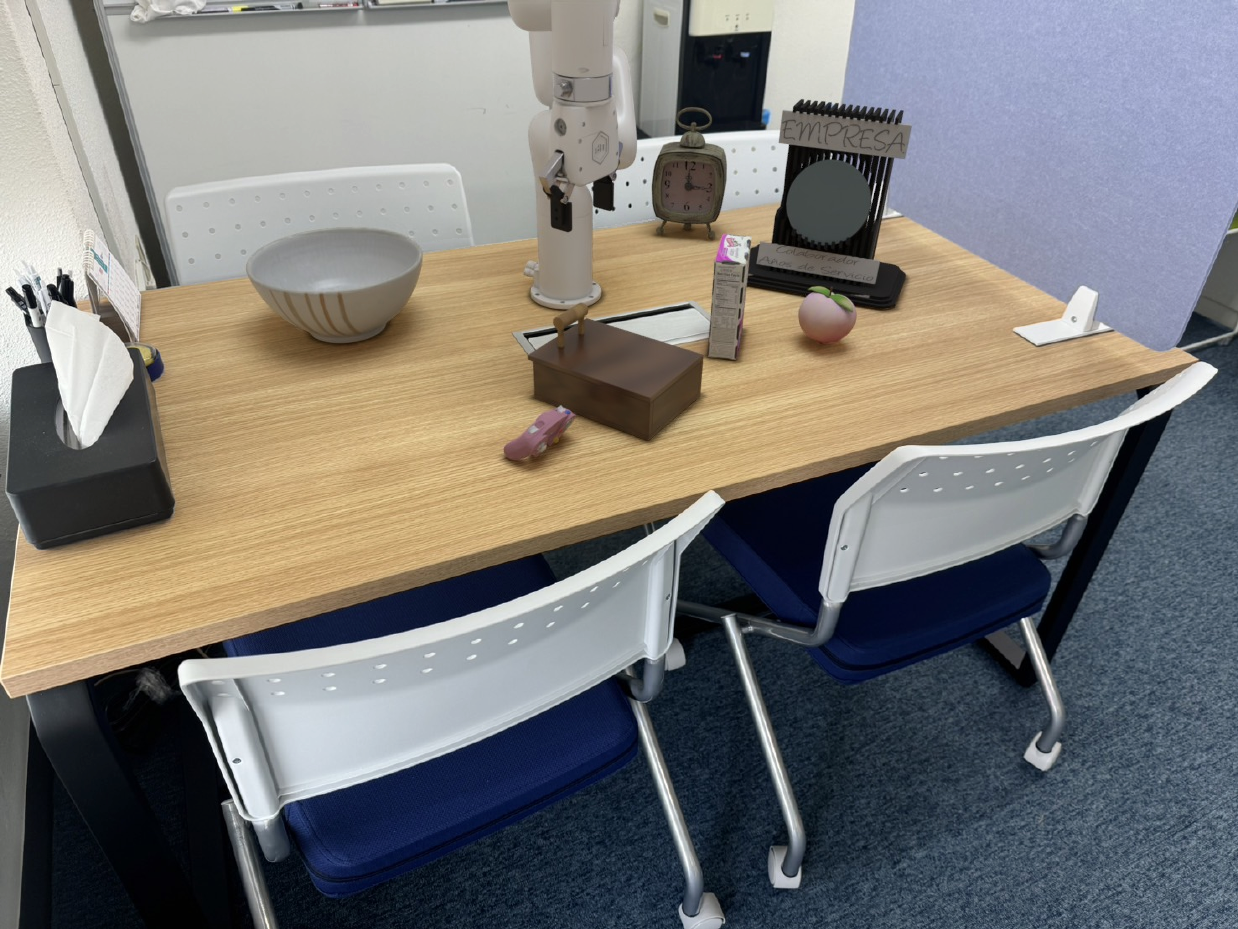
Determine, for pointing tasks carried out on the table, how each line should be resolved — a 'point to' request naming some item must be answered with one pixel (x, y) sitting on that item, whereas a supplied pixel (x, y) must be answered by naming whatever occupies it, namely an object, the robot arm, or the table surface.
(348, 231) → the decorative bowl
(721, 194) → the tabletop clock
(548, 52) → the robot arm
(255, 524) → the table surface
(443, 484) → the table surface
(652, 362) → the chest lid
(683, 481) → the table surface
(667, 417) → the chest
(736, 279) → the candy bar box
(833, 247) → the award
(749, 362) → the table surface
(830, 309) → the decorative fruit
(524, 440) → the video game controller
